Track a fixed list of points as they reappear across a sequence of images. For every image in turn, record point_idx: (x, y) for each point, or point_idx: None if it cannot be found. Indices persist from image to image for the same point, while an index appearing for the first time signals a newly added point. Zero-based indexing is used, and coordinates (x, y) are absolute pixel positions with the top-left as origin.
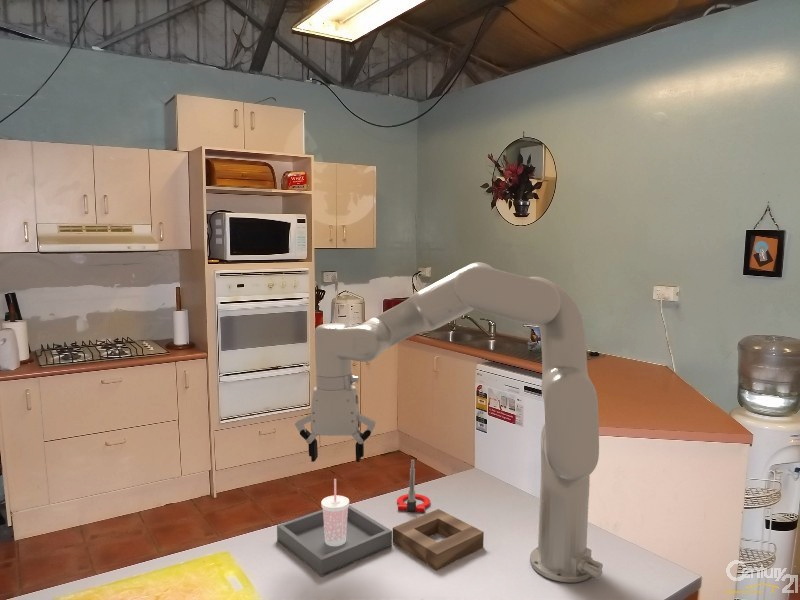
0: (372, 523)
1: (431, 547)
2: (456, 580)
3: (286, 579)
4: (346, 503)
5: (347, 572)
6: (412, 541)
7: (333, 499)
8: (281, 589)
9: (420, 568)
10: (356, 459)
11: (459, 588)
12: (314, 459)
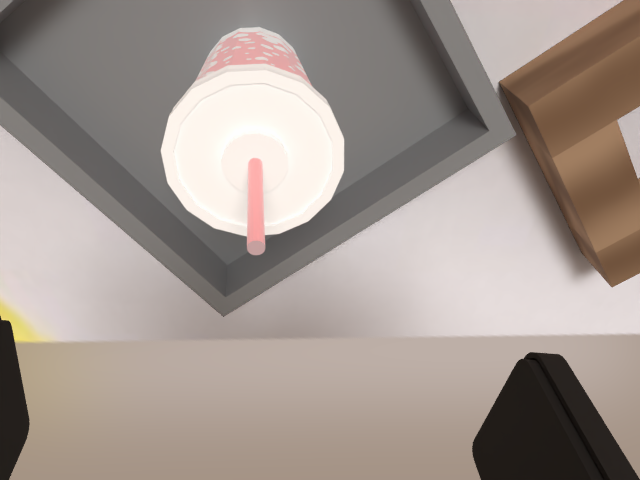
0: (444, 46)
1: (614, 252)
2: (611, 291)
3: (112, 287)
4: (326, 186)
5: None
6: (568, 199)
7: (241, 150)
8: (113, 327)
9: (539, 241)
10: (483, 472)
11: (600, 318)
12: (18, 448)
